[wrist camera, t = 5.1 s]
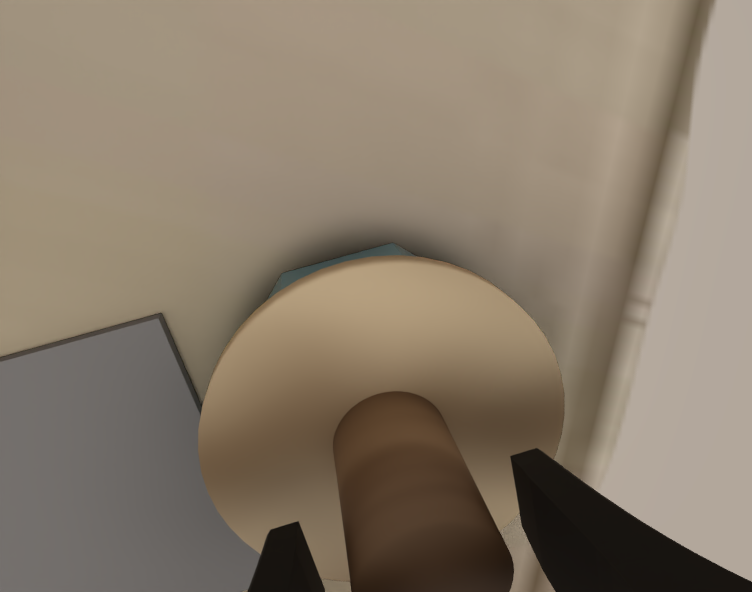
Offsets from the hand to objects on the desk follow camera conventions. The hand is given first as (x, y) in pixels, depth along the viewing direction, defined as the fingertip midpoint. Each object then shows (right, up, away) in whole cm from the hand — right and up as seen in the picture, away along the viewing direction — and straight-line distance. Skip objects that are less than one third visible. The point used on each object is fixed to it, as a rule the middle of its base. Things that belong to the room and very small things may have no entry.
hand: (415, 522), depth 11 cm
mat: (-11, -2, +6) cm, 13 cm away
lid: (-1, +1, +3) cm, 3 cm away
